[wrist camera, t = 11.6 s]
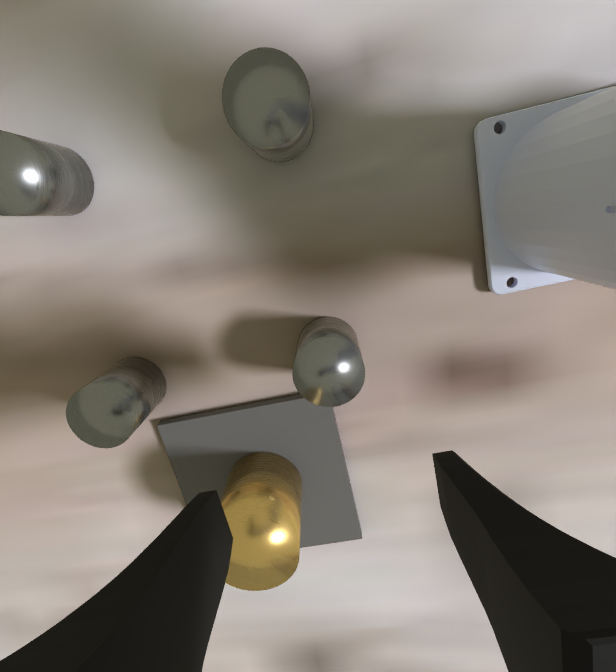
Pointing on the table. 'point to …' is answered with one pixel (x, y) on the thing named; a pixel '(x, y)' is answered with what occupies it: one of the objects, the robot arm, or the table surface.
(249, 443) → the mat
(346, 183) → the table surface
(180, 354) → the table surface
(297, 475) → the brass round stock
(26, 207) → the spacer posts
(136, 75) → the table surface
